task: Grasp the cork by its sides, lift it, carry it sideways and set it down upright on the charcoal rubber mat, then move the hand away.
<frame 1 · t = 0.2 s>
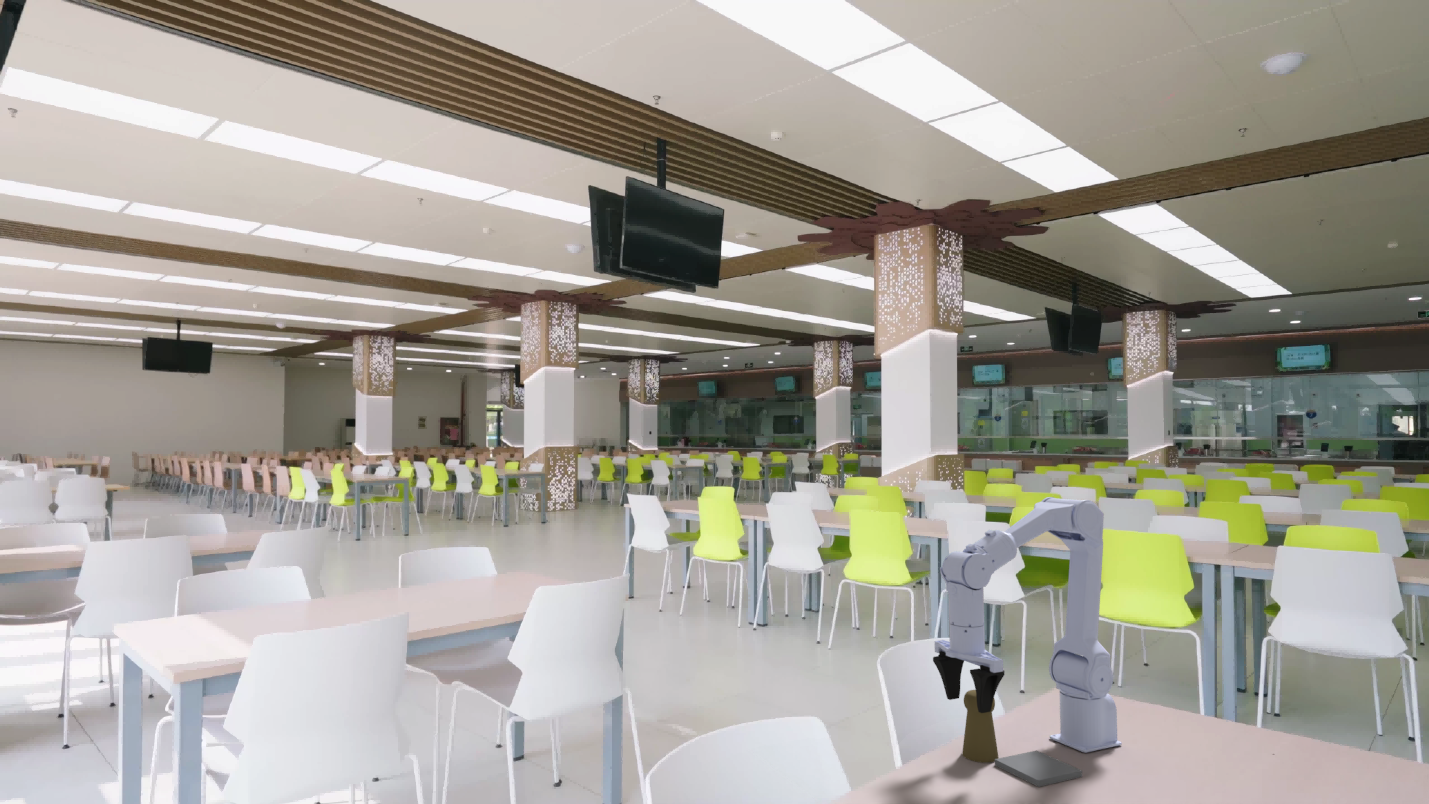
hand: (968, 705, 137), 10 cm above the table, tool pointing down, fingers open, 7 cm apart
mat: (1037, 770, 134), on the table
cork: (980, 757, 140), on the table
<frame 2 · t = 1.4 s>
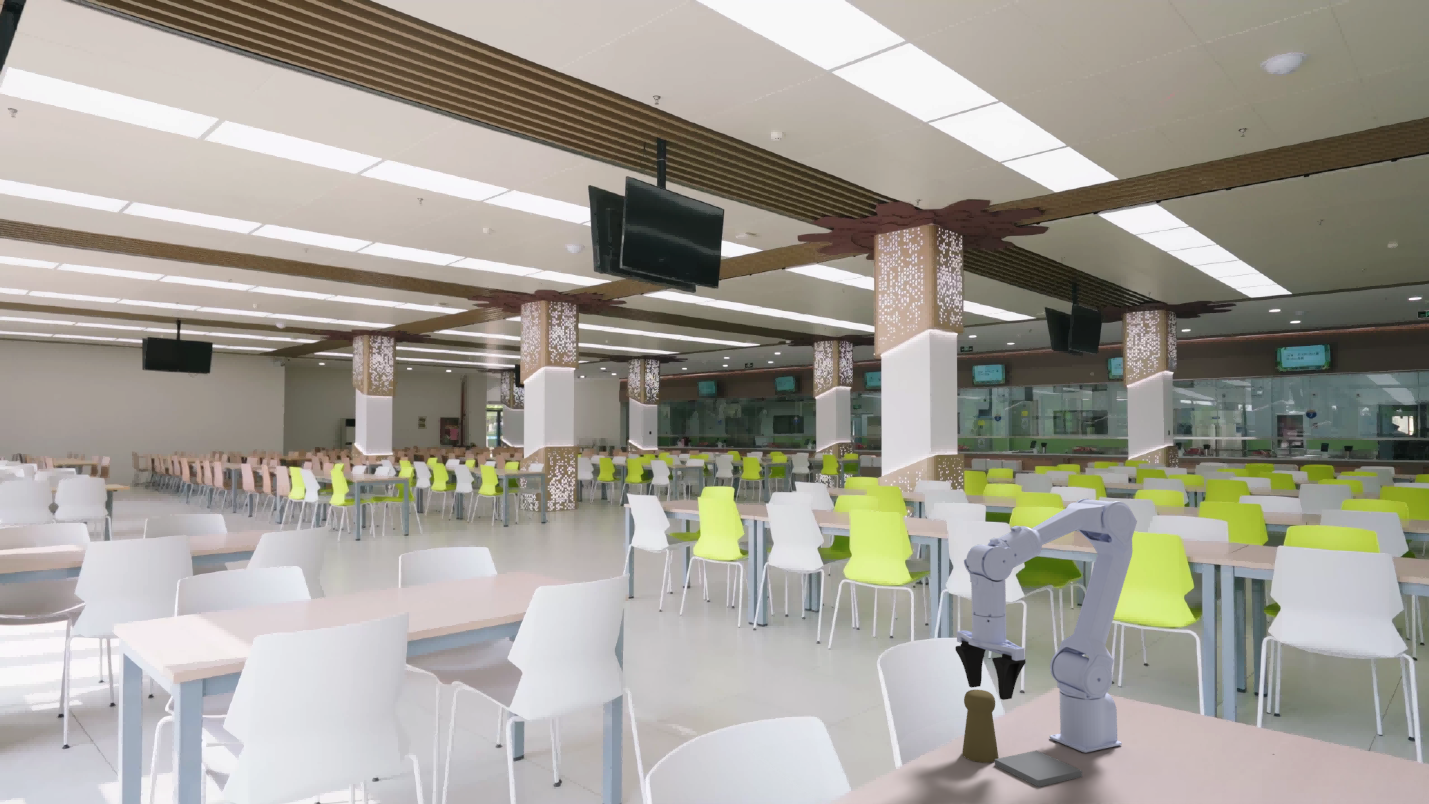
hand: (990, 692, 142), 10 cm above the table, tool pointing down, fingers open, 7 cm apart
nothing on the table moved.
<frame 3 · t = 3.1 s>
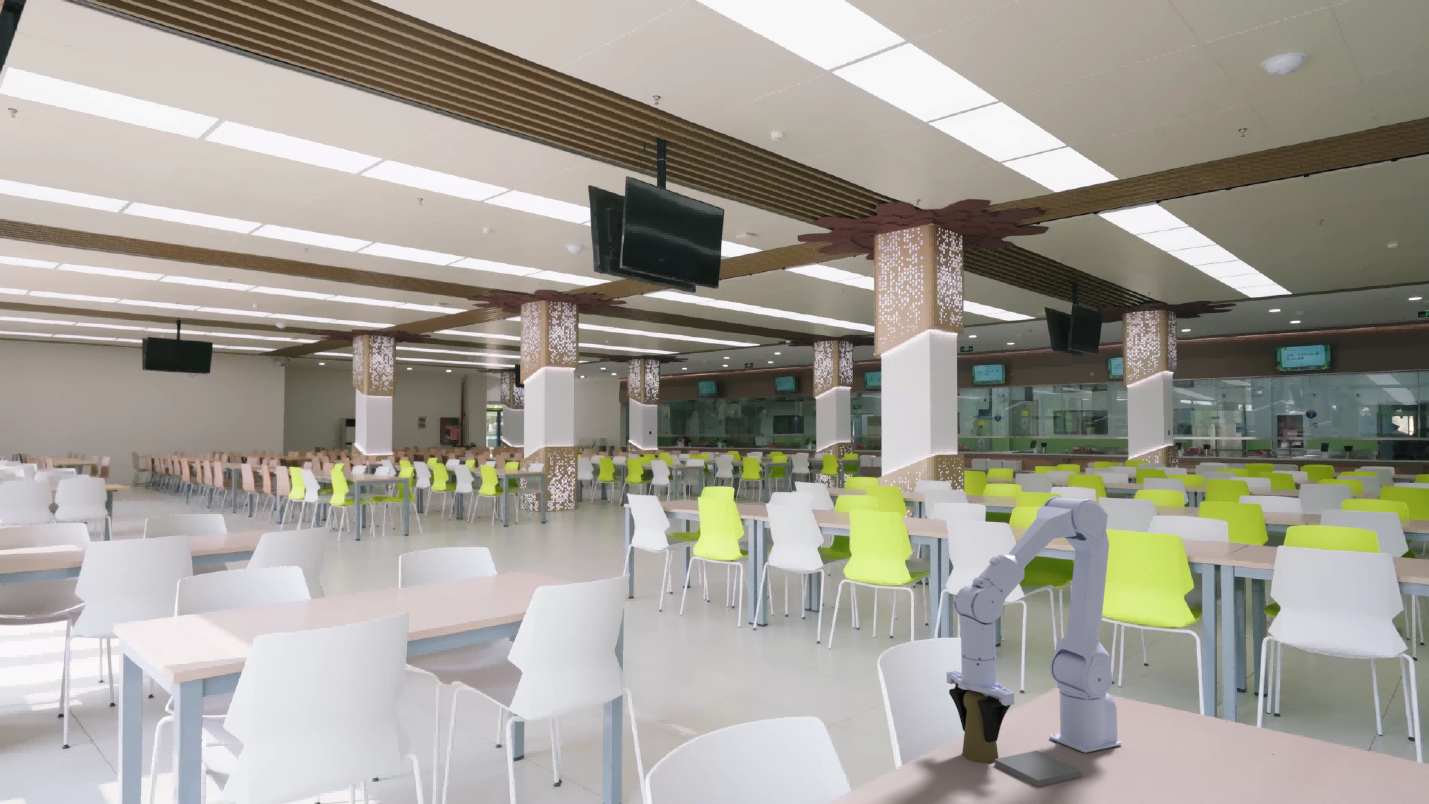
hand: (979, 735, 141), 3 cm above the table, tool pointing down, fingers closed on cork, 5 cm apart
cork: (980, 756, 140), on the table, touching gripper
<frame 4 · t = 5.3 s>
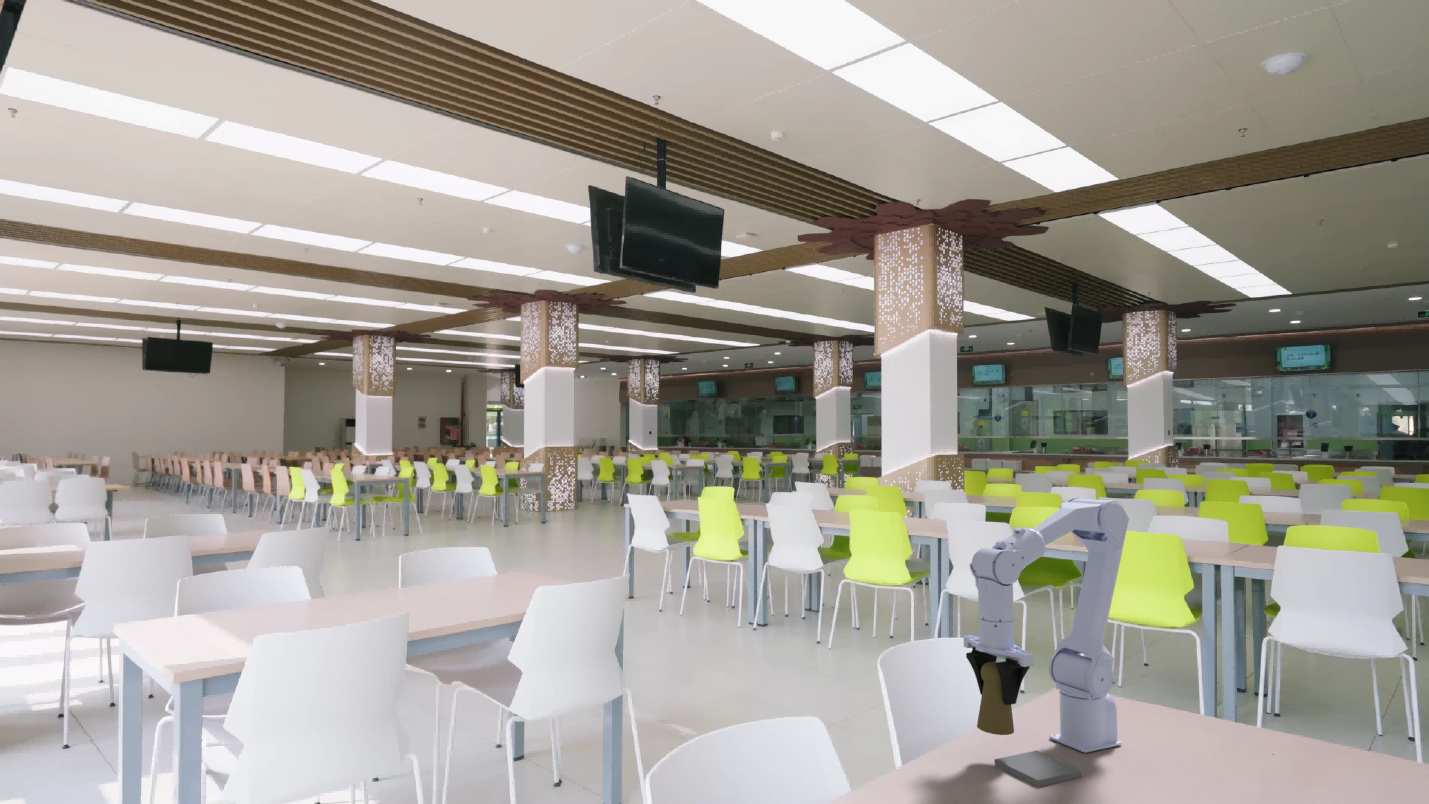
hand: (998, 699, 139), 10 cm above the table, tool pointing down, fingers closed on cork, 5 cm apart
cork: (995, 729, 138), point 5 cm above the table, touching gripper
when the fingers open (5 cm above the table, at t = 7.6 s): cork stays where it is, resting on mat.
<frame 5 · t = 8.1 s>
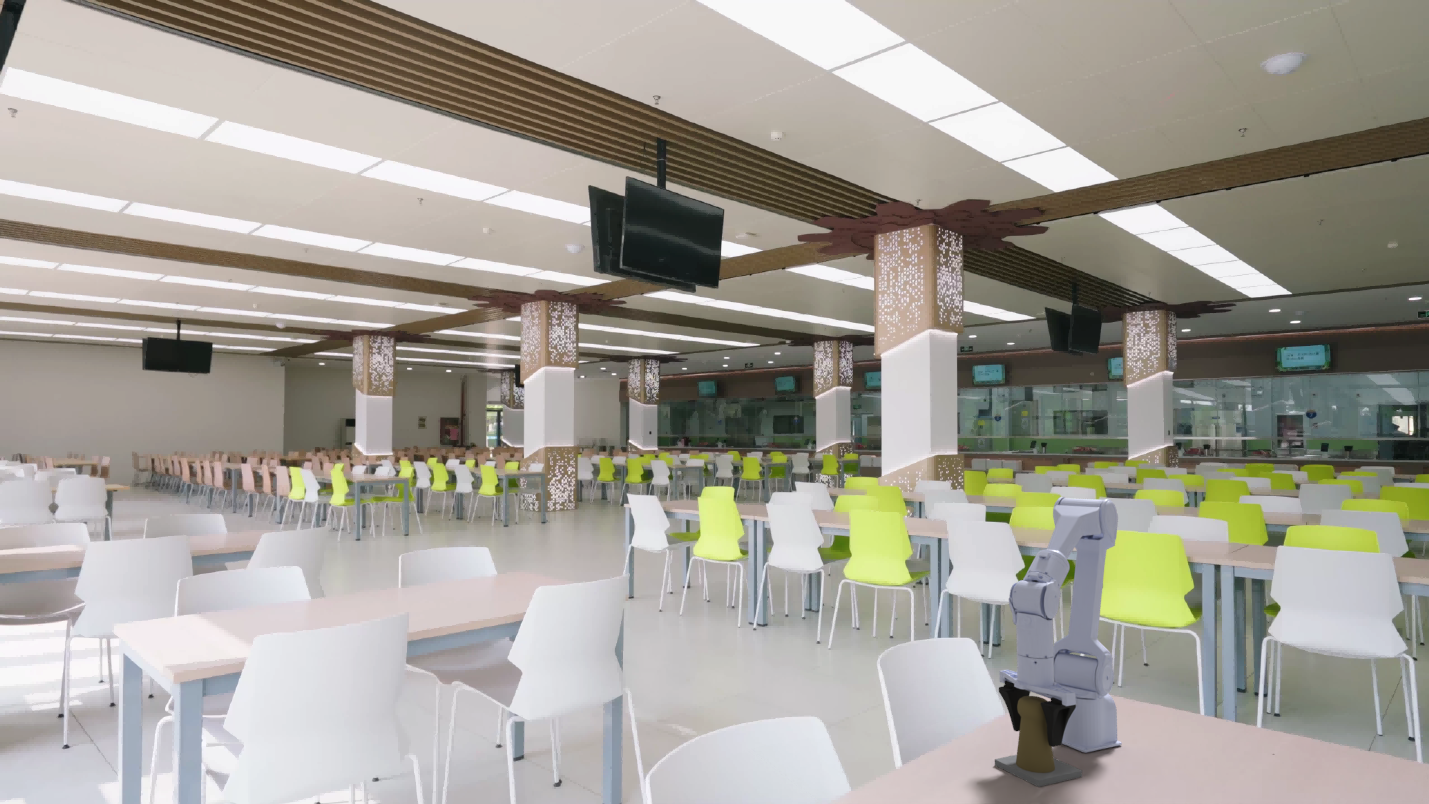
hand: (1036, 737, 134), 5 cm above the table, tool pointing down, fingers open, 7 cm apart
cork: (1035, 766, 133), point 1 cm above the table, touching mat
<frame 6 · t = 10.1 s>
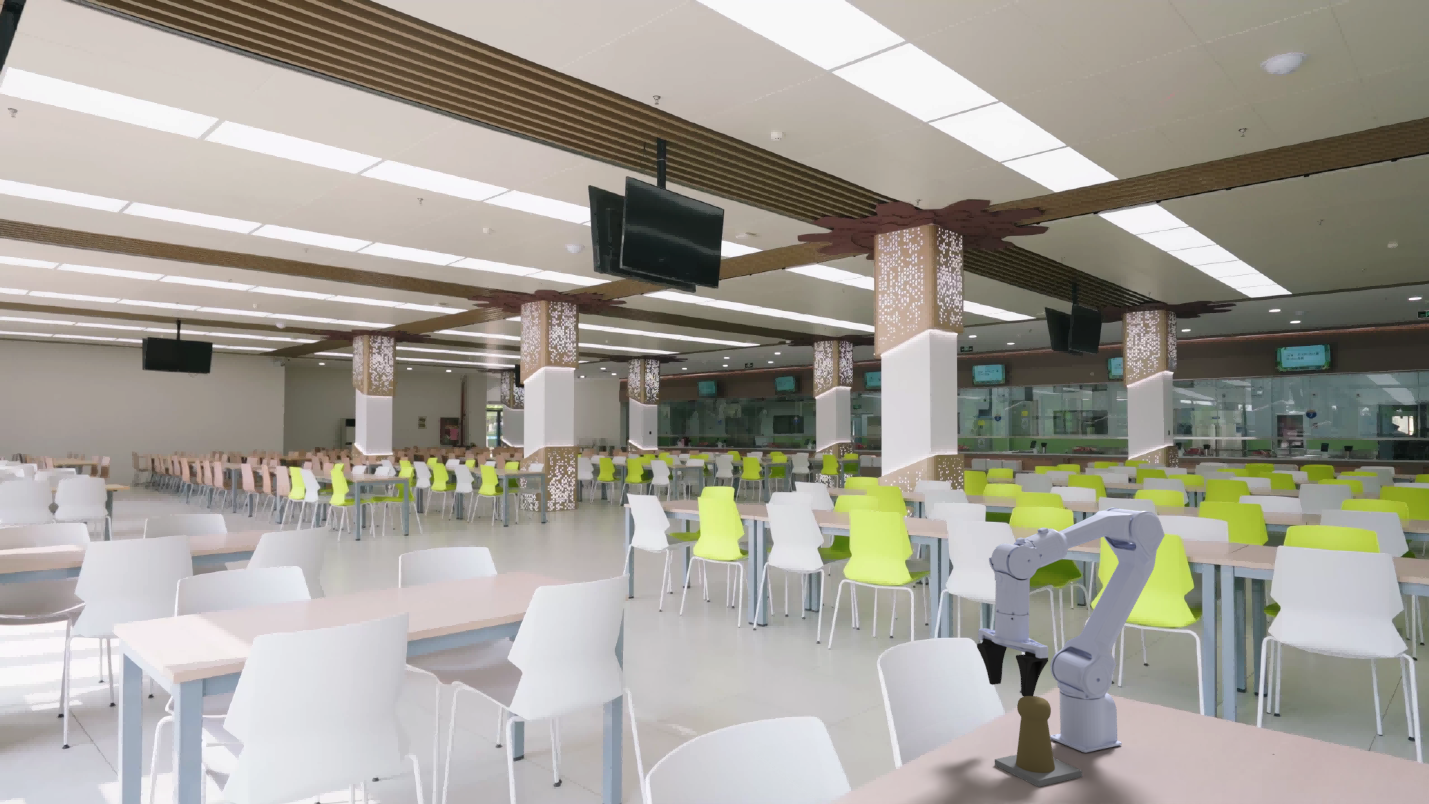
hand: (1011, 689, 144), 10 cm above the table, tool pointing down, fingers open, 7 cm apart
nothing on the table moved.
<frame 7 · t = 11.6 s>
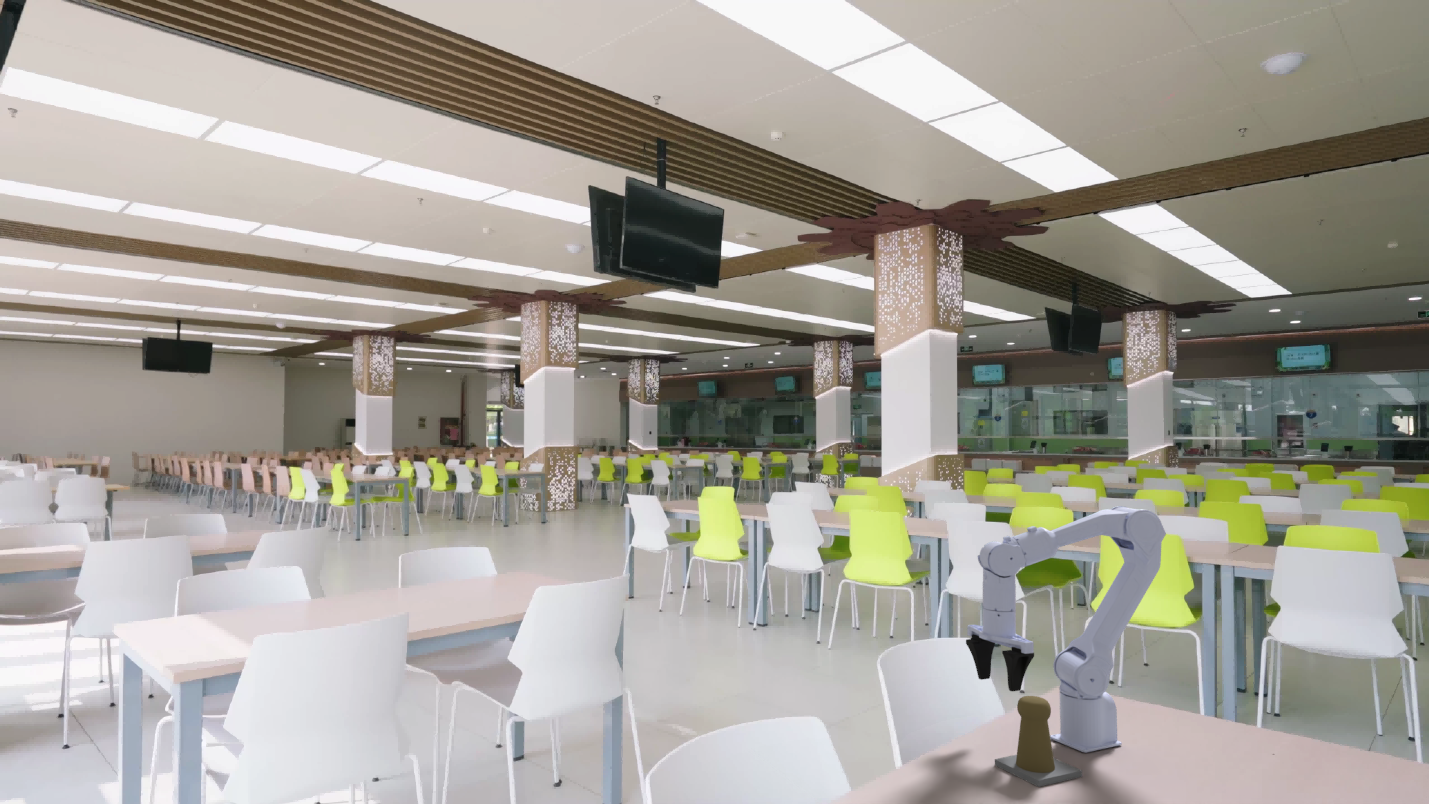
hand: (999, 684, 147), 10 cm above the table, tool pointing down, fingers open, 7 cm apart
nothing on the table moved.
at the end: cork 0.6 cm off-centre on the mat, point 0.8 cm above the mat's base; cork tilted 0°; the gripper is holding nothing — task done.
